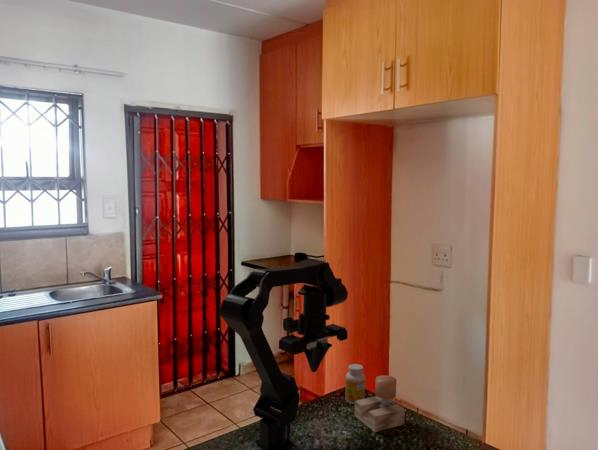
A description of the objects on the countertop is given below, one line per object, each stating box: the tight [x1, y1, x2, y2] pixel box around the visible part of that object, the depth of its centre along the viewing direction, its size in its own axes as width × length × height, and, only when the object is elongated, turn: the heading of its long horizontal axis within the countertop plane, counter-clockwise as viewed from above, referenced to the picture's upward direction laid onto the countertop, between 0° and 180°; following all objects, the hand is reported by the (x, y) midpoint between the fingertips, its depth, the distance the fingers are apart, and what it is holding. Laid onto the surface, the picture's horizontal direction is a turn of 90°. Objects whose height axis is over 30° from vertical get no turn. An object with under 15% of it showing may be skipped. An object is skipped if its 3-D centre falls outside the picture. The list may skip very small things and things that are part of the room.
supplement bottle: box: [344, 363, 366, 405], centre depth 130 cm, size 5×5×10 cm
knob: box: [374, 374, 397, 409], centre depth 120 cm, size 5×5×9 cm
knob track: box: [354, 395, 406, 433], centre depth 119 cm, size 9×9×4 cm
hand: (313, 371), depth 117 cm, fingers closed
